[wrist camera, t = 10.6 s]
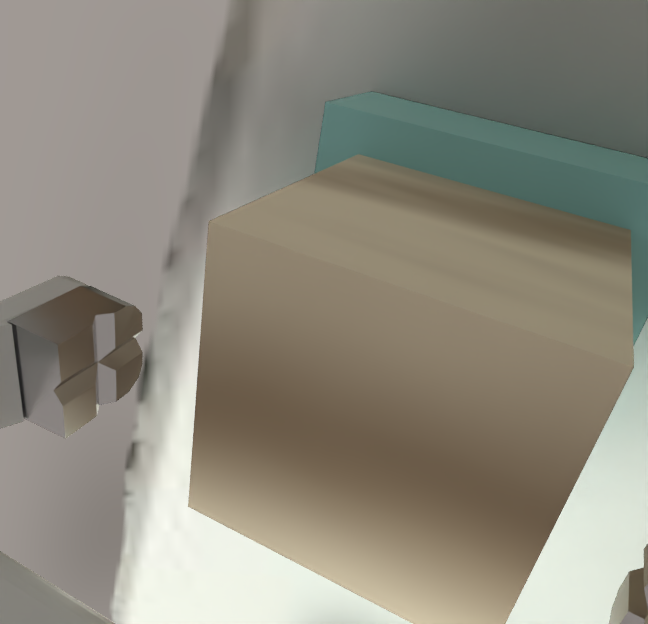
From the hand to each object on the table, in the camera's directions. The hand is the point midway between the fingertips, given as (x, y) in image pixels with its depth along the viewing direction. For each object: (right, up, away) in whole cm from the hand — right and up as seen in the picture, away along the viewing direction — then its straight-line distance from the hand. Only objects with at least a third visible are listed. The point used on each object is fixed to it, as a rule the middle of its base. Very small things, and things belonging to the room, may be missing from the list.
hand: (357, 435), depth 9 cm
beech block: (+3, +2, +5) cm, 6 cm away
